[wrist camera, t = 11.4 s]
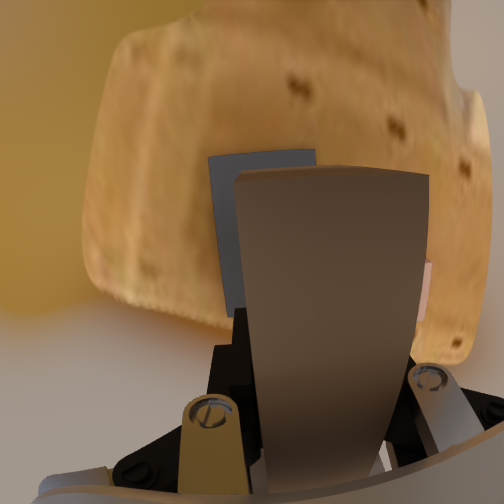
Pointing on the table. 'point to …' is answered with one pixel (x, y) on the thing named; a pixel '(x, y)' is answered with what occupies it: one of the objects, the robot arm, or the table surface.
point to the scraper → (329, 313)
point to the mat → (225, 210)
